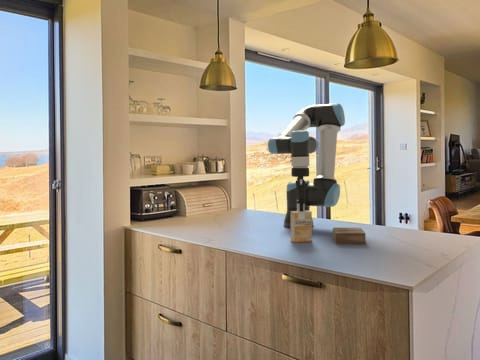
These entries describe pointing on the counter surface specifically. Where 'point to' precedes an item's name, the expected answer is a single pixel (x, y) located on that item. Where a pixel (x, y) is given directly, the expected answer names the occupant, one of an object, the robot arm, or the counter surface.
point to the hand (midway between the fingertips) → (300, 216)
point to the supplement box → (301, 227)
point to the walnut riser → (349, 236)
